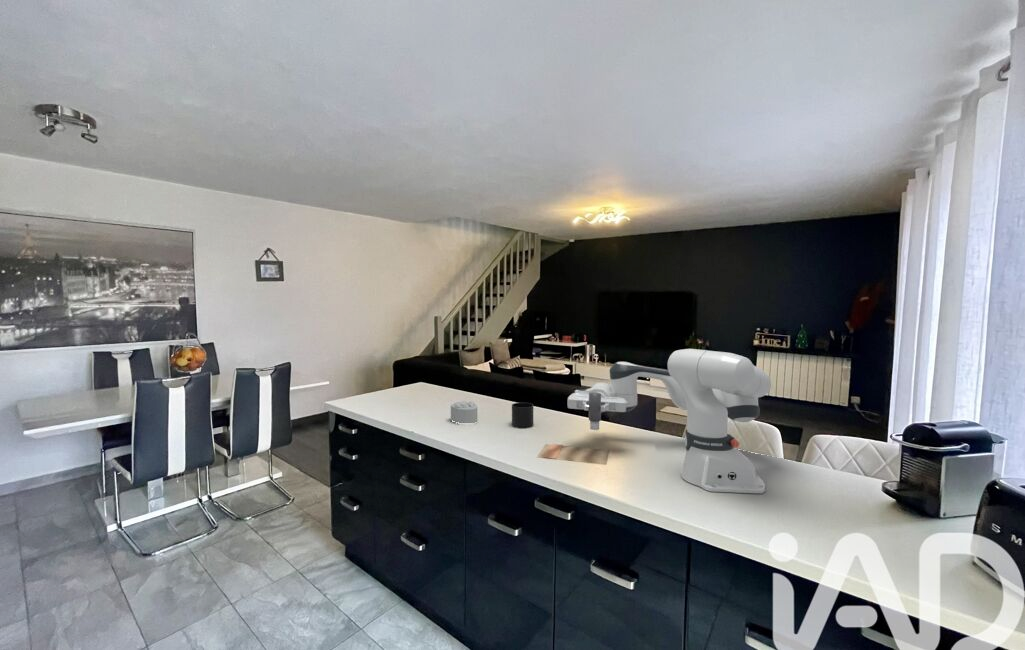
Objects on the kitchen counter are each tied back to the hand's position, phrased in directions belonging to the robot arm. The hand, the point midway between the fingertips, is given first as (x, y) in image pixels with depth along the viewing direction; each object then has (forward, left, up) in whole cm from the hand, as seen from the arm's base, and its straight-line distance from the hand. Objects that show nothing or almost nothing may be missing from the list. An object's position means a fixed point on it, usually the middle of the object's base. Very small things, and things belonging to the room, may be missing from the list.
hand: (594, 408), depth 143 cm
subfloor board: (+7, -1, -18) cm, 19 cm away
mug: (+34, -35, -18) cm, 52 cm away
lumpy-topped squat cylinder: (+61, -32, -18) cm, 71 cm away
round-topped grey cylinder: (0, -1, -7) cm, 7 cm away
